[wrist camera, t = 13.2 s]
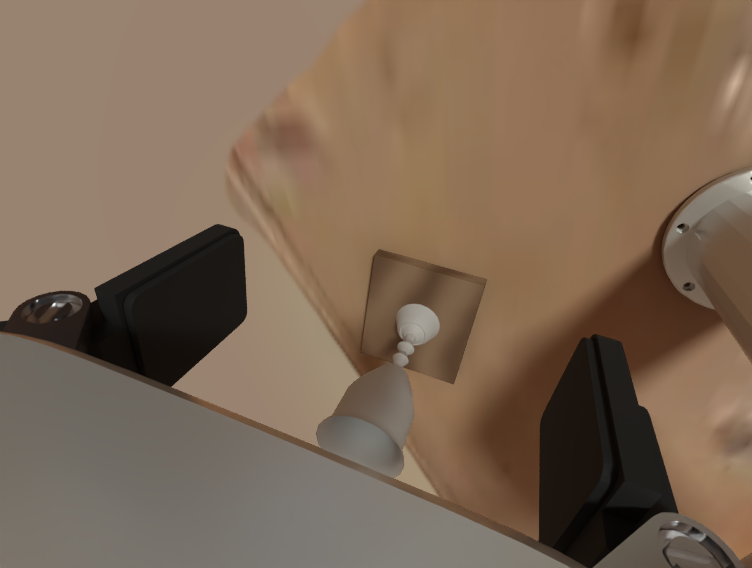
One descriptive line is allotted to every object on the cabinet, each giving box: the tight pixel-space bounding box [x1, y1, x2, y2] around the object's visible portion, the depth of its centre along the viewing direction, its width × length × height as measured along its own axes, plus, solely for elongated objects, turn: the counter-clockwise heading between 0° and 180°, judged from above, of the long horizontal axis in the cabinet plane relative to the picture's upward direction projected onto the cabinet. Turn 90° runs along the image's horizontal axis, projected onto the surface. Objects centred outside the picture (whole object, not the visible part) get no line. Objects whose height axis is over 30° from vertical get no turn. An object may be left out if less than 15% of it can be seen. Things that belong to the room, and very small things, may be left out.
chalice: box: [316, 304, 440, 478], centre depth 39 cm, size 7×7×18 cm
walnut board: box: [361, 249, 487, 384], centre depth 47 cm, size 12×14×2 cm
